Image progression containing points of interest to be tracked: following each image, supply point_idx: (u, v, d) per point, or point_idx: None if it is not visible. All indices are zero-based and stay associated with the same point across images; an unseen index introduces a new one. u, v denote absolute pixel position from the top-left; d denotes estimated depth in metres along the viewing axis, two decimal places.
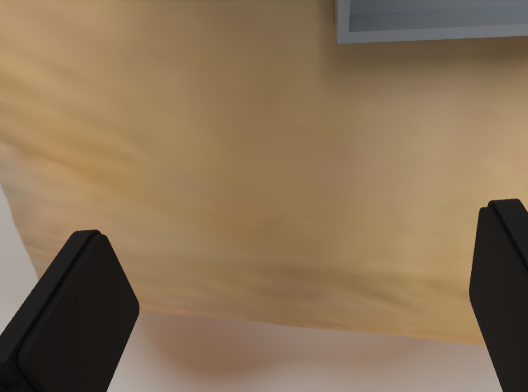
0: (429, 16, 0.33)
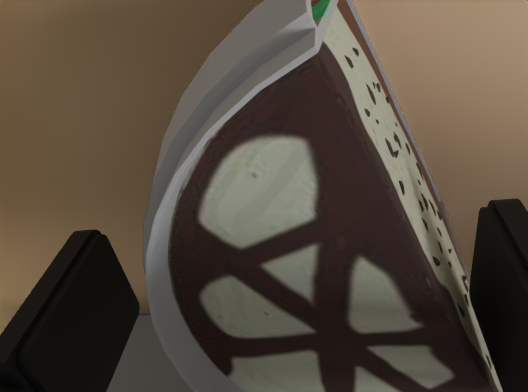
0: None
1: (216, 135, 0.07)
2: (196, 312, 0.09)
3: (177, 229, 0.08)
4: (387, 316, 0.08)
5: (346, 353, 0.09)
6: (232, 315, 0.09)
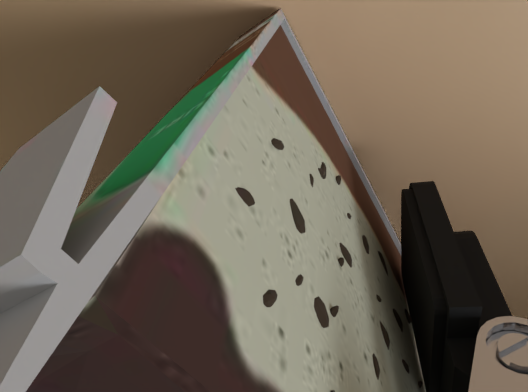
0: None
1: None
2: None
3: None
4: None
5: None
6: None
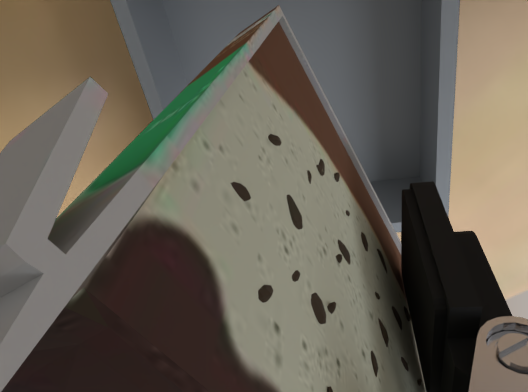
0: (172, 70, 0.27)
1: None
2: None
3: None
4: None
5: None
6: None
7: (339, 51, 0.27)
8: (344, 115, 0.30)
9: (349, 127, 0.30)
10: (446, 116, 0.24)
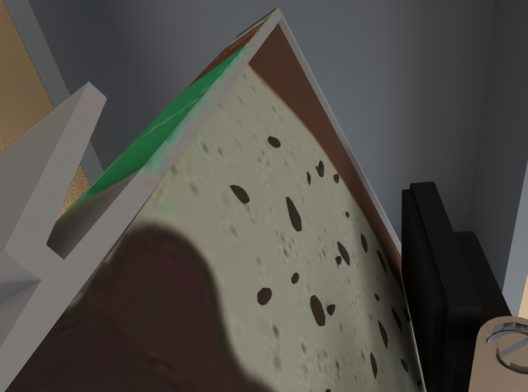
0: (114, 83, 0.18)
1: None
2: None
3: None
4: None
5: None
6: None
7: (364, 60, 0.18)
8: (366, 150, 0.21)
9: (373, 167, 0.21)
10: None
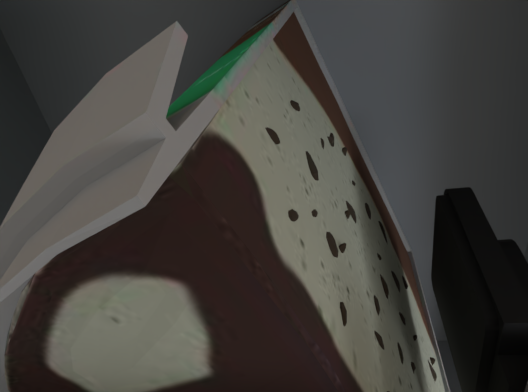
0: (24, 168, 0.13)
1: (43, 271, 0.04)
2: None
3: (16, 376, 0.05)
4: None
5: None
6: None
7: (376, 133, 0.13)
8: None
9: None
10: None
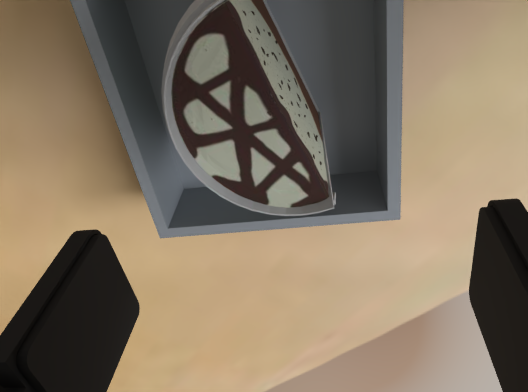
0: (132, 61, 0.27)
1: (192, 32, 0.19)
2: (181, 120, 0.21)
3: (176, 74, 0.20)
4: (259, 114, 0.21)
5: (245, 139, 0.22)
6: (196, 121, 0.21)
7: (296, 46, 0.28)
8: None
9: None
10: (395, 109, 0.25)
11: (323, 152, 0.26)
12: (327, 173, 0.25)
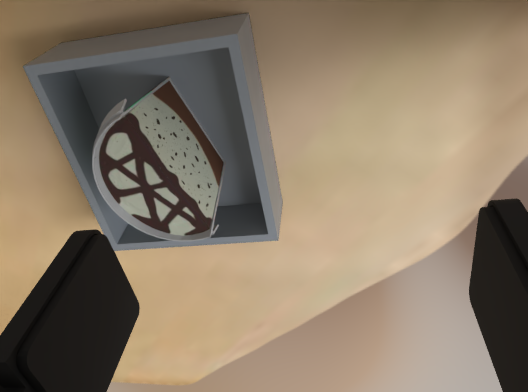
0: (87, 129, 0.39)
1: (107, 132, 0.31)
2: (107, 180, 0.33)
3: (100, 155, 0.32)
4: (154, 178, 0.32)
5: (149, 193, 0.33)
6: (117, 181, 0.33)
7: (202, 117, 0.39)
8: None
9: None
10: (259, 168, 0.36)
11: (216, 195, 0.38)
12: (214, 211, 0.36)
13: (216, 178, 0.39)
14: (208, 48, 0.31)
